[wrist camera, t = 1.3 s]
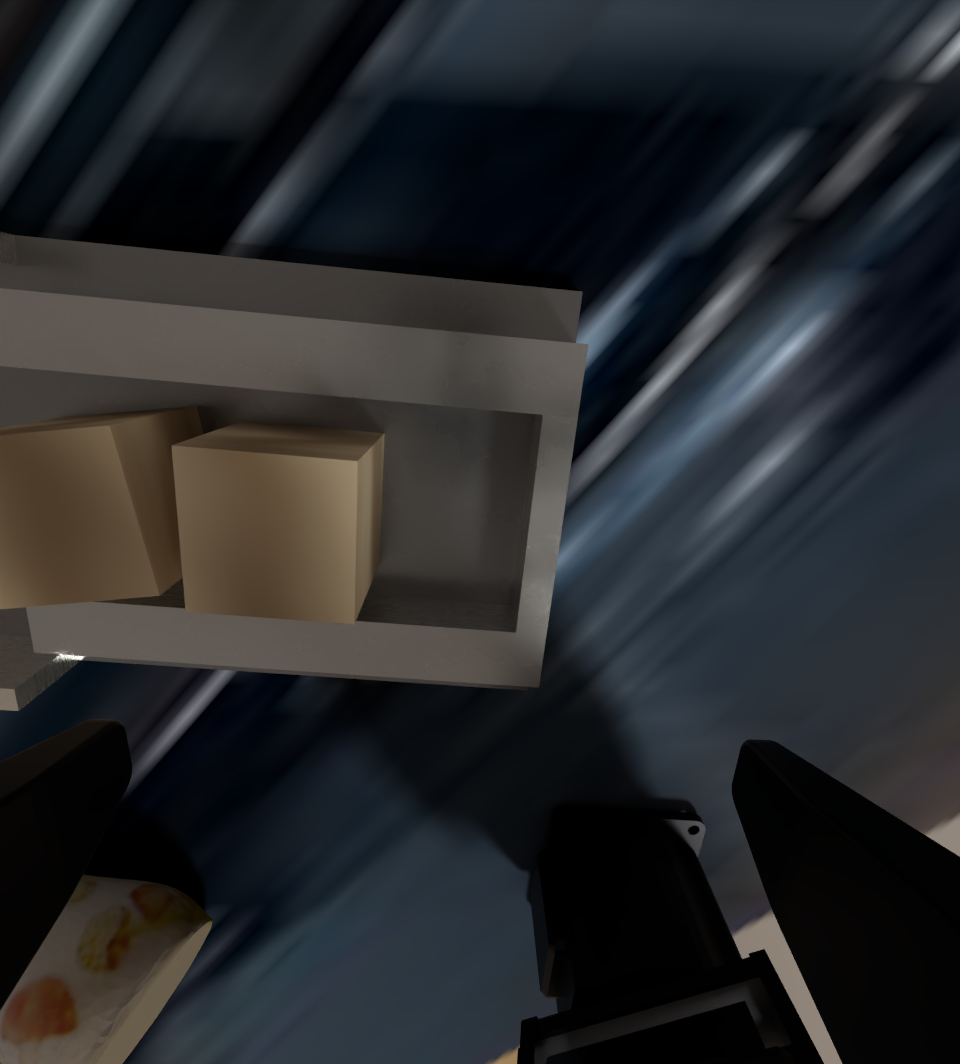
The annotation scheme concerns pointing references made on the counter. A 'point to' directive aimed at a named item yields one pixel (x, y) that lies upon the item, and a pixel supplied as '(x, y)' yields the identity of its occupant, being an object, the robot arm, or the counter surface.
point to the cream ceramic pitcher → (102, 973)
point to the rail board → (325, 402)
